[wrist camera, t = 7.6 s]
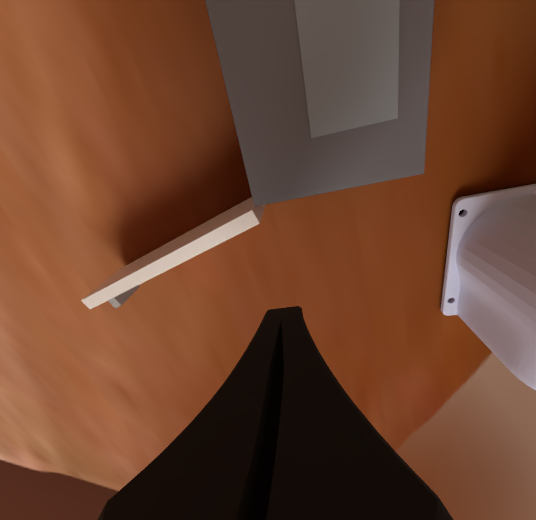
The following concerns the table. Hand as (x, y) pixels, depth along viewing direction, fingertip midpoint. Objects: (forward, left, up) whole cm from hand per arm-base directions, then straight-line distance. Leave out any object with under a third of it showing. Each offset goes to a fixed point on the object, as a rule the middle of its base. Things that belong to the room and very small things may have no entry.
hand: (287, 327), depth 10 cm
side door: (+1, +7, -9) cm, 12 cm away
